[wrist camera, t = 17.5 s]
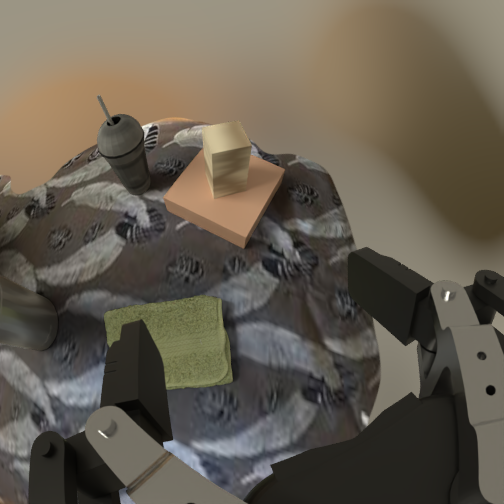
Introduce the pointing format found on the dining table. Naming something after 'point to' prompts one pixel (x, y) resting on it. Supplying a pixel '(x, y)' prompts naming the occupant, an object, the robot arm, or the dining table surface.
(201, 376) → the washcloth
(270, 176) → the terracotta plinth
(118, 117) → the beverage cup
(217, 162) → the birch block
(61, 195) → the dining table surface
